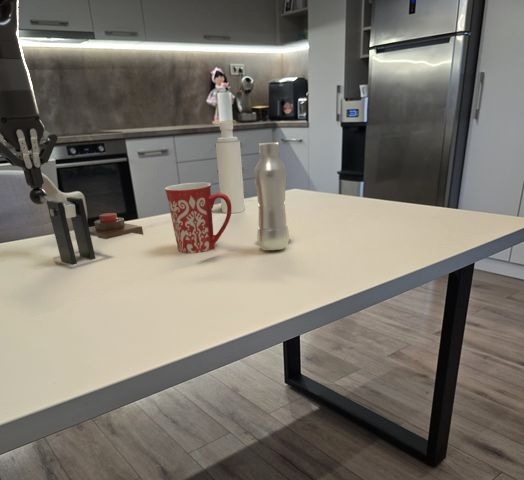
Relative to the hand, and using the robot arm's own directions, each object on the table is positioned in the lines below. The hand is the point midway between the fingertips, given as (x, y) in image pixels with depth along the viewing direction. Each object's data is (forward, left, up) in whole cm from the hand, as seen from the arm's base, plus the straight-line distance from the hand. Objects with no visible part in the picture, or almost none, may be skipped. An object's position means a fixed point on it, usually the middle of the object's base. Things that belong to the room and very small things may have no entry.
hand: (36, 187), depth 96 cm
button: (-6, +18, -11) cm, 22 cm away
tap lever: (+5, 0, -4) cm, 6 cm away
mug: (+27, +19, -15) cm, 36 cm away
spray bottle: (-1, +55, -15) cm, 57 cm away
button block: (-6, +18, -14) cm, 24 cm away
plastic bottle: (+37, +29, -15) cm, 49 cm away
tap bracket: (+11, 0, -14) cm, 18 cm away
